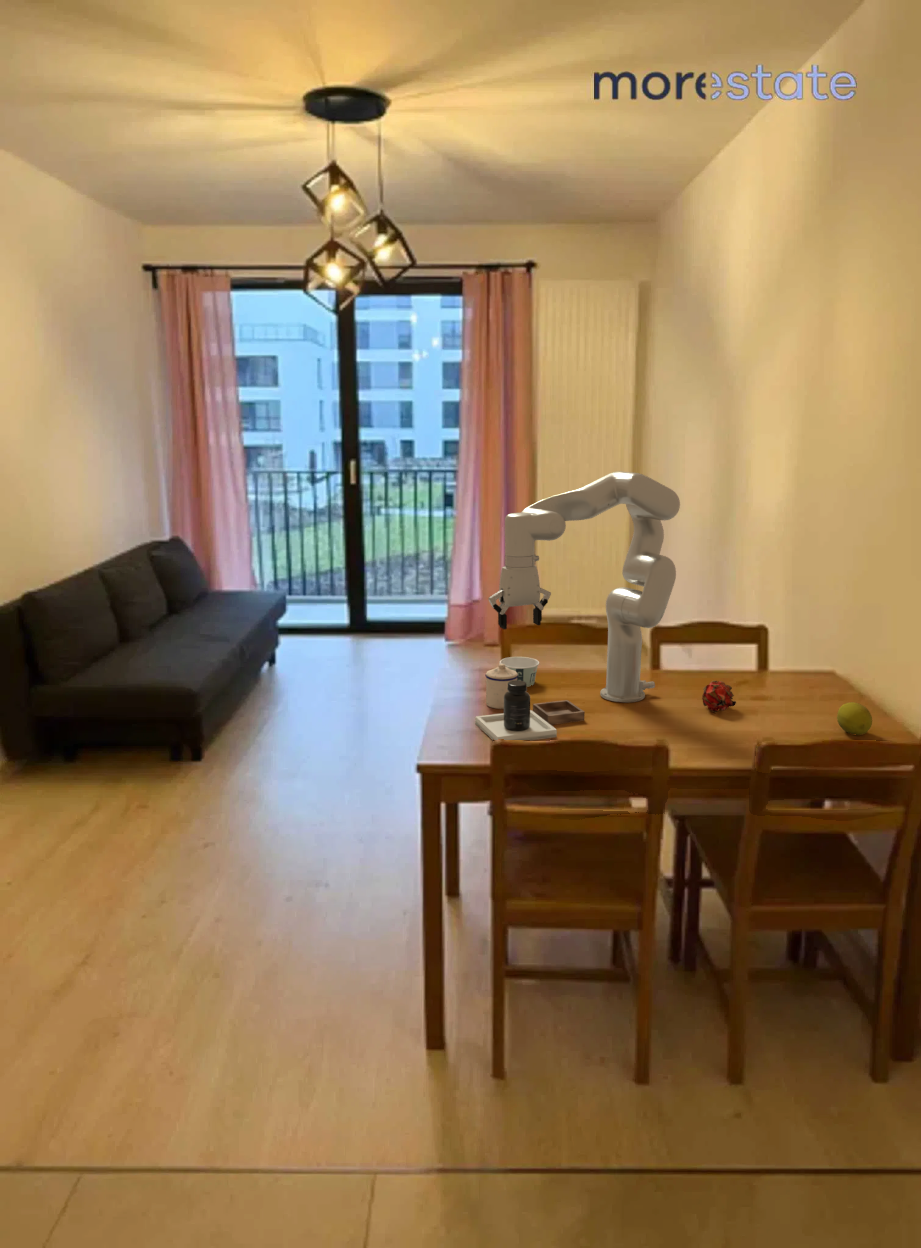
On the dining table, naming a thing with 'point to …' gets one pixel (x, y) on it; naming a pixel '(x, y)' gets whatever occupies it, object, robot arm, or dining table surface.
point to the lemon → (854, 718)
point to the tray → (496, 730)
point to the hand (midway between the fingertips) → (520, 626)
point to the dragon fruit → (717, 696)
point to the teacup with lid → (498, 685)
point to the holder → (559, 712)
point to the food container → (522, 668)
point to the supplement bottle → (517, 706)
